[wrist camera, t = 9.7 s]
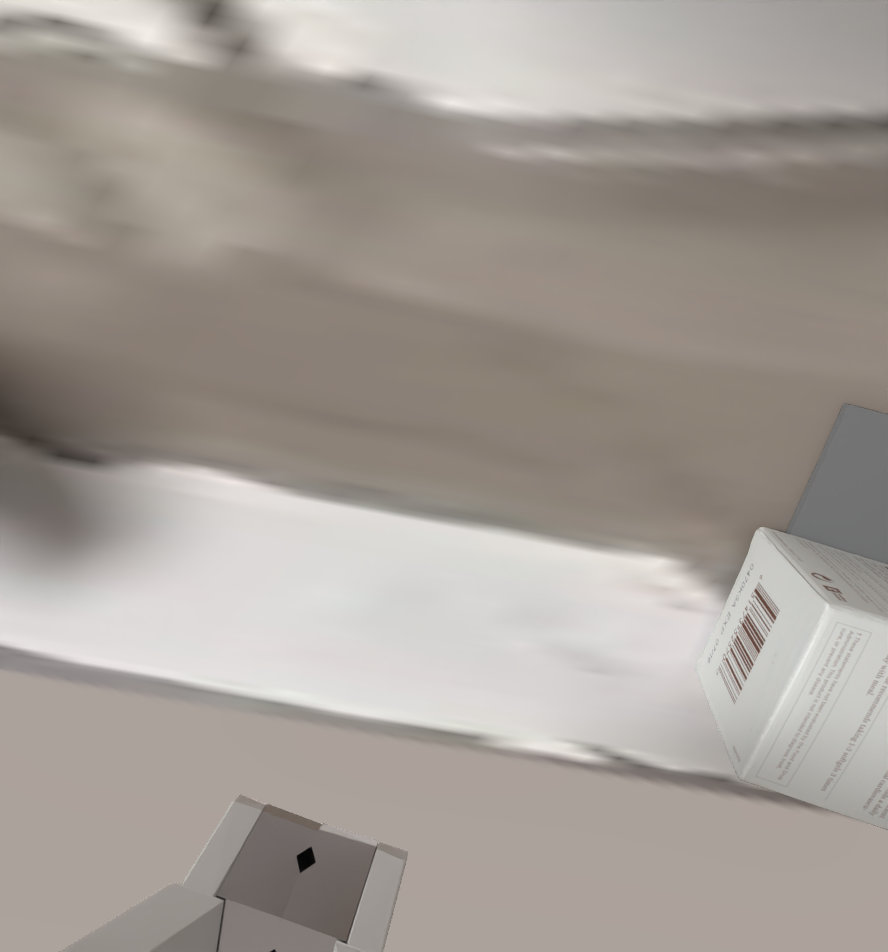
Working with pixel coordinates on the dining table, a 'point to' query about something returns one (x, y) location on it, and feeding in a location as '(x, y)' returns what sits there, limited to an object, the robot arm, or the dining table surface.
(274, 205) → the dining table surface
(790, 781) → the supplement box
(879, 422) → the mat
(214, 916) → the robot arm
